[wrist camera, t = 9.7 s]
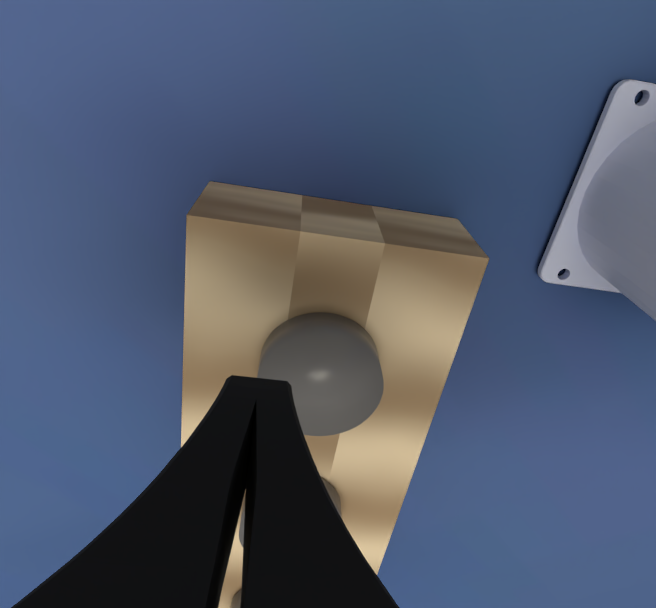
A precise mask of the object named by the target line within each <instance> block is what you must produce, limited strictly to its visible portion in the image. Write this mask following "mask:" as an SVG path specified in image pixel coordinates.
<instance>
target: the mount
mask: <svg viewBox="0 0 656 608" xmlns="http://www.w3.org/2000/svg"><path fill="white" fill-rule="evenodd" d="M488 261H489V258H488V256H487V255H486V254H485V253H484V251H483V250H482V249H481V248H480V246H479V245H478V244H477V243H476V241H475V240H474V239H473V238H472V236H471V235H470V234H469V233H468V231H467V230H466V229H465V228H464V226H463V225H462V224H461V223H460V221H459V220H458V219H455V218H449V217H442V216H435V215H429V214H422V213H416V212H409V211H402V210H396V209H389V208H383V207H376V206H370V205H363V204H356V203H350V202H343V201H337V200H330V199H324V198H317V197H310V196H304V195H297V194H291V193H284V192H278V191H271V190H264V189H258V188H251V187H245V186H238V185H232V184H225V183H218V182H212V181H210V182H209V183H208V185H207V186H206V187H205V189H204V190H203V192H202V193H201V195H200V196H199V198H198V199H197V201H196V202H195V204H194V205H193V206H192V208H191V209H190V211H189V212H188V214H187V221H186V263H185V304H184V346H183V388H182V429H181V447H182V446H183V445H184V443H185V442H186V441H187V440H188V438H189V437H190V436H191V434H192V433H193V431H194V430H195V429H196V427H197V426H198V425H199V423H200V422H201V420H202V419H203V418H204V416H205V415H206V413H207V412H208V410H209V409H210V407H211V406H212V404H213V403H214V401H215V399H216V398H217V396H218V394H219V392H220V391H221V389H222V387H223V385H224V383H225V381H226V379H227V378H228V377H230V376H231V375H236V376H245V377H255V378H257V375H258V369H259V362H260V356H261V351H262V348H263V345H264V343H265V341H266V339H267V338H268V337H269V335H270V334H271V333H272V332H273V331H274V330H275V329H276V328H277V327H278V326H279V325H281V324H282V323H284V322H285V321H287V320H289V319H291V318H294V317H296V316H299V315H303V314H307V313H316V312H324V313H333V314H338V315H341V316H344V317H347V318H349V319H351V320H353V321H355V322H356V323H358V324H359V325H360V326H362V327H363V328H364V329H365V330H366V331H367V332H368V333H369V335H370V336H371V337H372V339H373V341H374V343H375V345H376V348H377V351H378V356H379V361H380V365H381V370H382V375H383V381H384V390H383V395H382V398H381V401H380V403H379V405H378V407H377V408H376V410H375V411H374V412H373V414H372V415H371V416H370V417H369V418H368V419H367V420H365V421H364V422H363V423H361V424H360V425H358V426H357V427H355V428H353V429H351V430H348V431H346V432H343V433H339V434H335V435H329V436H309V435H304V437H305V440H306V442H307V445H308V447H309V450H310V453H311V455H312V458H313V460H314V463H315V465H316V467H317V470H318V472H319V474H320V476H321V478H322V479H324V480H325V481H327V482H328V483H330V484H331V485H332V486H333V487H334V488H335V489H336V491H337V493H338V495H339V497H340V501H341V515H342V520H343V522H344V524H345V525H346V527H347V529H348V531H349V533H350V534H351V536H352V538H353V539H354V541H355V542H356V544H357V546H358V547H359V549H360V551H361V552H362V554H363V556H364V557H365V559H366V560H367V562H368V563H369V565H370V566H371V568H372V569H373V570H374V572H375V573H376V575H377V573H378V571H379V568H380V565H381V562H382V559H383V557H384V554H385V551H386V548H387V545H388V542H389V540H390V537H391V534H392V531H393V528H394V526H395V523H396V520H397V517H398V514H399V511H400V509H401V506H402V503H403V500H404V497H405V495H406V492H407V489H408V486H409V483H410V480H411V478H412V475H413V472H414V469H415V466H416V464H417V461H418V458H419V455H420V452H421V449H422V447H423V444H424V441H425V438H426V435H427V433H428V430H429V427H430V424H431V421H432V419H433V416H434V413H435V410H436V407H437V404H438V402H439V399H440V396H441V393H442V390H443V388H444V385H445V382H446V379H447V376H448V373H449V371H450V368H451V365H452V362H453V359H454V357H455V354H456V351H457V348H458V345H459V342H460V340H461V337H462V334H463V331H464V328H465V326H466V323H467V320H468V317H469V314H470V312H471V309H472V306H473V303H474V300H475V297H476V295H477V292H478V289H479V286H480V283H481V281H482V278H483V275H484V272H485V269H486V266H487V264H488ZM245 492H246V489H245ZM244 497H245V494H244ZM243 500H244V498H243ZM242 507H243V502H242ZM242 507H241V511H240V515H239V519H238V524H237V528H236V532H235V536H234V540H233V545H232V549H231V553H230V557H229V562H228V566H227V570H226V574H225V578H224V583H223V587H222V591H221V596H220V601H219V607H218V608H231V602H232V599H233V597H234V596H235V595H236V594H237V593H238V592H239V591H240V590H242V566H243V547H242V545H241V543H240V540H239V528H240V521H241V514H242Z"/></svg>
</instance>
